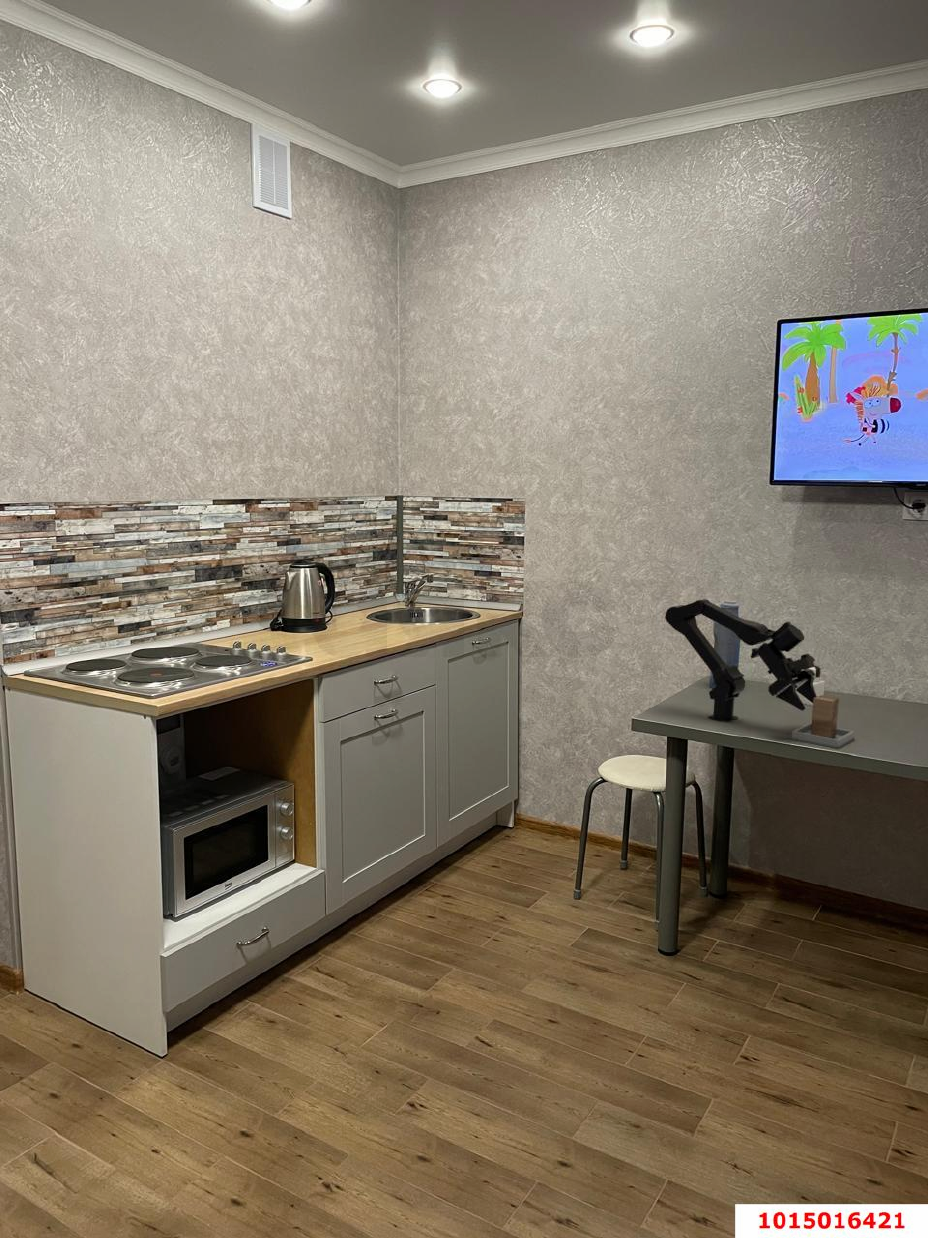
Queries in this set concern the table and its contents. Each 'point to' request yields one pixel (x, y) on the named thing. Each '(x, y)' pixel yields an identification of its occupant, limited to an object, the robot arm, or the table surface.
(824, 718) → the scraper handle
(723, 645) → the bottle
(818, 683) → the medicine bottle
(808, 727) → the tray
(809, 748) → the table surface
